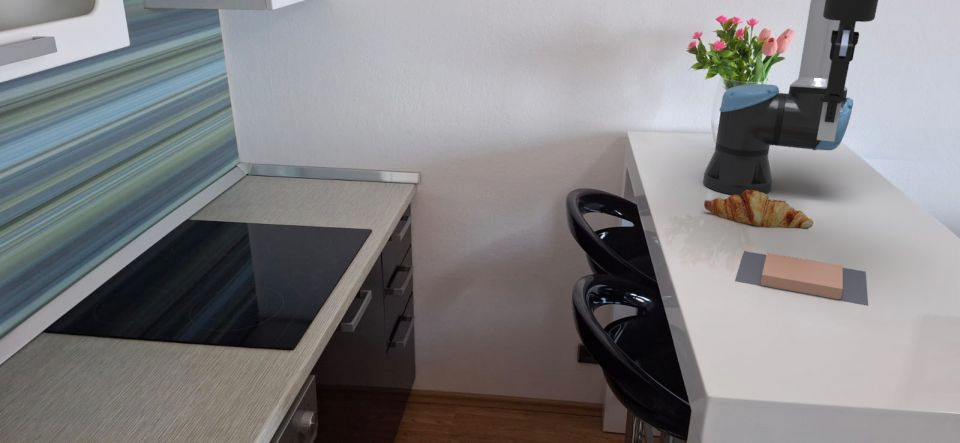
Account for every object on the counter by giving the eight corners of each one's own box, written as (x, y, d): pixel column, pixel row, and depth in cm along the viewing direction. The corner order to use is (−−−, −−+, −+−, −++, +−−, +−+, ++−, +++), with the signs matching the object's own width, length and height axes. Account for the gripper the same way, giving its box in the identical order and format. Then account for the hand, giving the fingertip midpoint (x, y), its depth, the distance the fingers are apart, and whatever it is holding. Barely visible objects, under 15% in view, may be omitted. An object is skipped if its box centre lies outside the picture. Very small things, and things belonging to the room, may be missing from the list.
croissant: (808, 242, 152) (816, 204, 152) (812, 236, 142) (820, 195, 143) (702, 223, 160) (709, 187, 160) (698, 216, 150) (706, 177, 151)
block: (767, 252, 130) (762, 274, 122) (842, 265, 126) (842, 288, 117) (765, 263, 131) (760, 285, 122) (840, 276, 126) (840, 300, 118)
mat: (743, 255, 136) (744, 251, 136) (864, 275, 129) (865, 271, 128) (734, 285, 124) (734, 280, 124) (867, 310, 117) (868, 305, 116)
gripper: (881, -3, 111) (850, 151, 119) (877, -8, 122) (849, 133, 130) (826, -5, 114) (799, 146, 122) (827, -10, 125) (803, 128, 133)
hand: (825, 139), depth 126 cm, fingers closed
